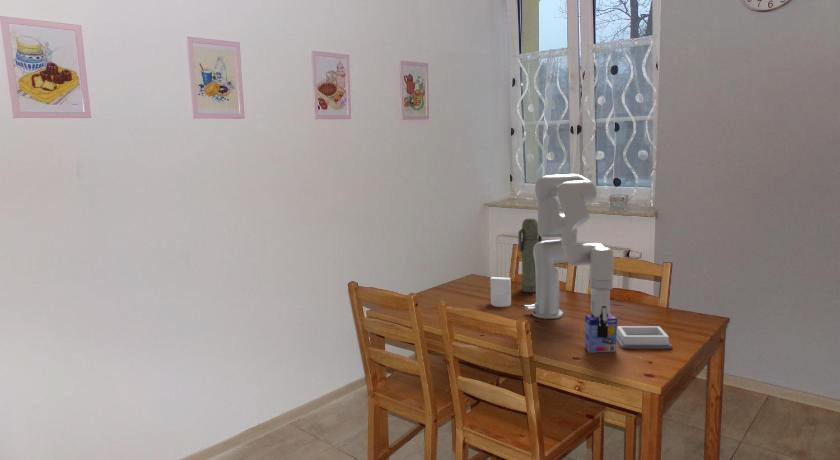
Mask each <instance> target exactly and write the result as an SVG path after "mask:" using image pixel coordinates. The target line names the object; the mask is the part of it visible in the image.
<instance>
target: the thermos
mask: <svg viewBox="0 0 840 460" xmlns="http://www.w3.org/2000/svg"><path fill="white" fill-rule="evenodd" d="M517 237H518V251H519V252H520V256H521V257H522V258H521V260H522V261H521V264H522V265H521V269H522V270H521V272H522V274H521V277H520V279H521V280H520V282H521V283H520V285H521V291H522V292H524V293H531V292H532V293H536V269H535V260H534V255H533V248H534V245H535V244H536V243H538V242H540V241H543V237H541V236H540V235H539V233H538V220H537V219H535V218H525V219H523V222H522V224H521V229H519V231H518V236H517Z"/></svg>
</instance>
